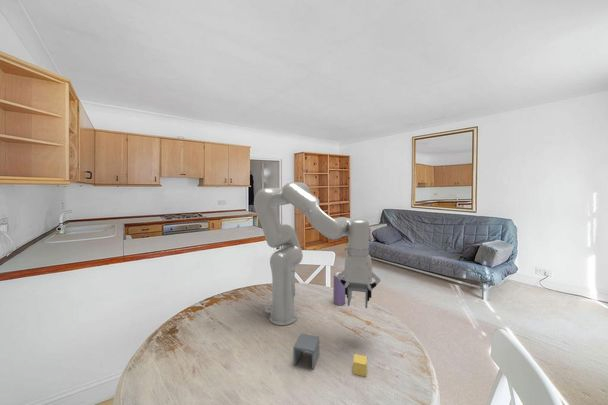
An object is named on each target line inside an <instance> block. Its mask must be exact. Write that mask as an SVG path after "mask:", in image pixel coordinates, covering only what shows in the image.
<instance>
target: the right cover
mask: <svg viewBox="0 0 608 405" xmlns="http://www.w3.org/2000/svg"><path fill="white" fill-rule="evenodd" d="M353 292H359V293H364V294H365V297H364V298H365V309H368V305H369V304H368V303H369V301H368V300H367V297H368V287H367V285H366V284H357V283H349V286H348V298H347V307H349V306H350V303H351V300H352V294H353Z"/></svg>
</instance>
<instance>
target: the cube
mask: <svg viewBox="0 0 608 405" xmlns="http://www.w3.org/2000/svg"><path fill="white" fill-rule="evenodd" d="M352 363H353V365H352V372H353V373H352V374H353V375H358V376H362V377H367V368H368V356H367V355H362V354H357V353H354V356H353V362H352Z"/></svg>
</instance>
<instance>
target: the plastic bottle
mask: <svg viewBox="0 0 608 405" xmlns="http://www.w3.org/2000/svg"><path fill="white" fill-rule="evenodd" d="M291 273H292V276H293V284H294V295H295V294H296V285H295V284H296V283H295V276H296V266H294V267H292V268H291Z"/></svg>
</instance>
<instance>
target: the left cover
mask: <svg viewBox="0 0 608 405" xmlns="http://www.w3.org/2000/svg"><path fill="white" fill-rule="evenodd" d="M292 350H293V352H292V353H293V357H292V359H293V364H292V365H293V366H294V367H296V366H297V363H298V361H299V359H300V356H301V354H302V352H309V353H311V370H313V371H315V368H316V364H317V362H318V359H319V357H320V336H318V335H313V334H306V333H302V332H301V333H300V334H299V336H298V338H297V339H296V341H295V342H294V345H293V348H292Z"/></svg>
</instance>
